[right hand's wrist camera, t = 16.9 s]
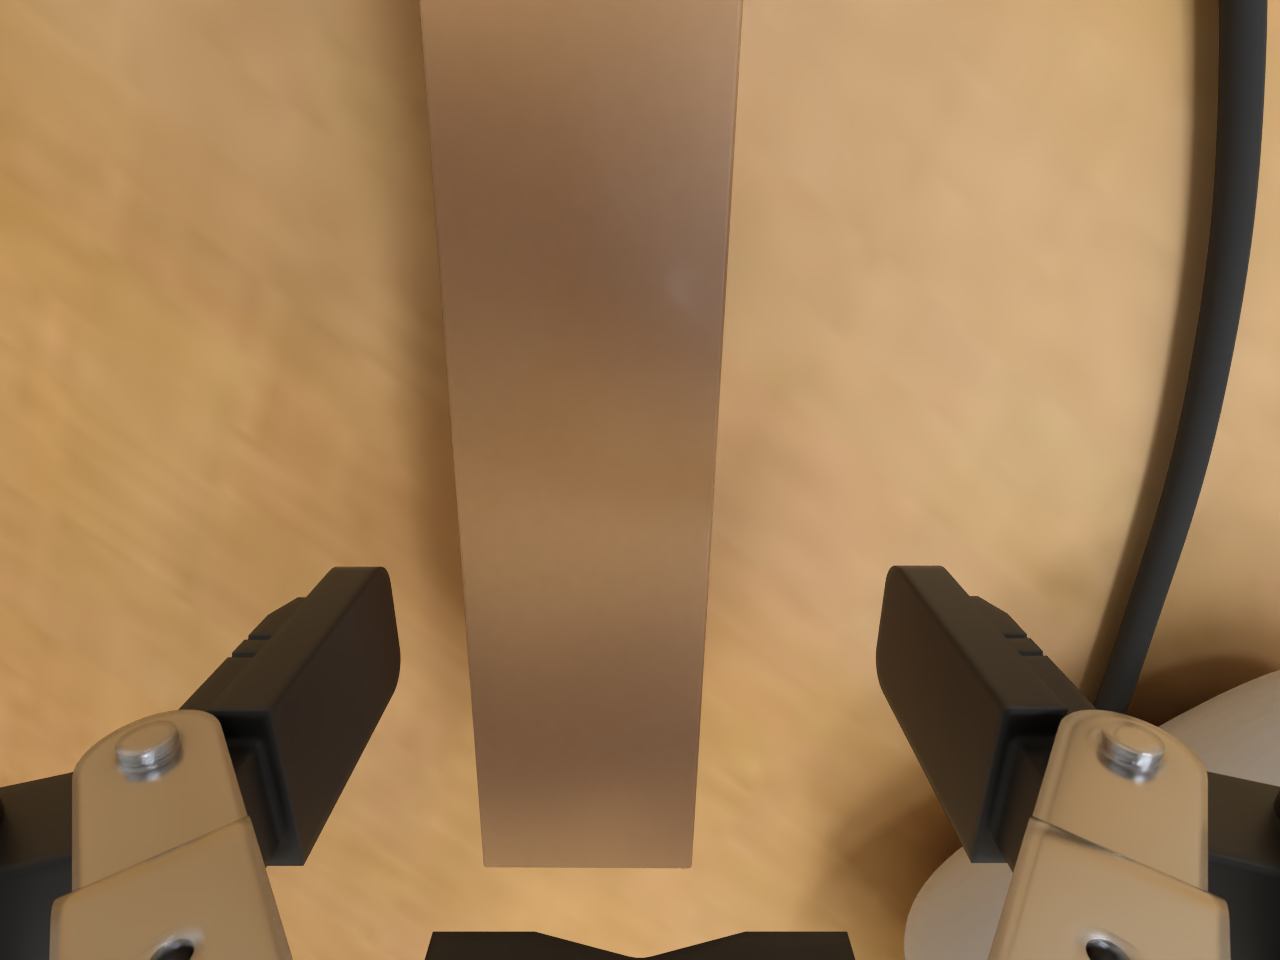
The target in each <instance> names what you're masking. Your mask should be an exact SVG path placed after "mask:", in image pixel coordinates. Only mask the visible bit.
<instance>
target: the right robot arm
mask: <svg viewBox="0 0 1280 960" xmlns="http://www.w3.org/2000/svg"><path fill="white" fill-rule="evenodd" d="M1266 39H1267V0H1219V81H1218V117H1217V142H1216V161H1215V178H1214V193H1213V205H1212V217H1211V228H1210V237H1209V246H1208V255H1207V263H1206V271H1205V279H1204V286H1203V293H1202V300H1201V307H1200V313H1199V319H1198V326H1197V332H1196V338H1195V343H1194V349H1193V355H1192V361H1191V366H1190V372H1189V377H1188V383H1187V388H1186V393H1185V398H1184V403H1183V408H1182V413H1181V418H1180V422H1179V427H1178V432H1177V436H1176V440H1175V445H1174V449H1173V453H1172V457H1171V461H1170V465H1169V469H1168V473H1167V477H1166V481H1165V484H1164V488H1163V492H1162V495H1161V499H1160V502H1159V506H1158V509H1157V513H1156V516H1155V520H1154V523H1153V526H1152V529H1151V533H1150V536H1149V539H1148V542H1147V546H1146V549H1145V552H1144V555H1143V558H1142V561H1141V564H1140V568H1139V571H1138V574H1137V577H1136V580H1135V583H1134V586H1133V589H1132V592H1131V595H1130V598H1129V602H1128V605H1127V608H1126V611H1125V614H1124V617H1123V620H1122V623H1121V626H1120V630H1119V633H1118V636H1117V639H1116V642H1115V645H1114V648H1113V652H1112V655H1111V658H1110V661H1109V664H1108V667H1107V670H1106V673H1105V676H1104V679H1103V682H1102V685H1101V687H1100V690H1099V693H1098V696H1097V699H1096V701H1095V704H1094V706H1093V705H1092V703H1091V702H1090V701H1089V700H1088V699H1087V698H1086V697H1085V696H1084V695H1083V694H1082V693H1081V692H1080V691H1079V690H1078V689H1077V687H1076V686H1075V685H1074V684H1073V683H1072V682H1071V681H1070V680H1069V679H1068V678H1067V677H1066V676H1065V675H1064V674H1063V673H1062V671H1061V670H1060V669H1059V668H1058V667H1057V666H1056V665H1055V664H1054V663H1053V662H1052V661H1051V660H1050V659H1049V658H1048V656H1043V651H1042V650H1041V649H1040V648H1039V647H1038V646H1037V645H1036V644H1035V643H1034V642H1033V640H1032V639H1031V638H1027V634H1026V633H1025V632H1024V631H1023V630H1022V629H1021V628H1020V627H1019V626H1018V624H1017V623H1016V622H1015V621H1014V620H1013V619H1012V618H1011V617H1010V616H1009V615H1008V614H1007V613H1005V612H1004V611H1002V610H1000V609H999V608H997V607H995V606H993V605H992V604H990V603H988V602H987V601H985V600H983V599H982V598H980V597H978V596H969V595H968V594H967V593H966V592H965V591H964V589H963V588H962V587H961V586H960V585H959V584H958V583H957V582H956V580H955V579H954V578H953V577H952V576H951V575H950V574H949V572H948V571H947V570H946V569H945V568H944V567H942V566H892V567H891V568H890V570H889V571H888V574H887V577H886V583H885V590H884V597H883V604H882V612H881V619H880V626H879V634H878V641H877V648H876V667H877V675H878V679H879V683H880V686H881V689H882V691H883V693H884V695H885V697H886V699H887V701H888V703H889V705H890V707H891V709H892V711H893V713H894V714H895V716H896V718H897V720H898V722H899V724H900V726H901V728H902V730H903V732H904V734H905V736H906V738H907V740H908V742H909V744H910V745H911V747H912V749H913V751H914V753H915V755H916V757H917V759H918V761H919V763H920V765H921V767H922V769H923V771H924V773H925V775H926V776H927V778H928V780H929V782H930V784H931V786H932V788H933V790H934V792H935V794H936V796H937V798H938V800H939V802H940V804H941V806H942V807H943V809H944V811H945V813H946V815H947V817H948V819H949V821H950V823H951V825H952V827H953V829H954V831H955V833H956V835H957V837H958V838H959V840H960V842H961V844H962V846H963V848H964V850H965V852H966V854H967V856H968V858H969V860H970V862H971V863H1007V864H1008V865H1009V867H1010V869H1011V871H1012V872H1013V875H1012V878H1011V882H1010V885H1009V888H1008V892H1007V895H1006V899H1005V902H1004V905H1003V909H1002V912H1001V915H1000V919H999V922H998V925H997V929H996V932H995V935H994V939H993V942H992V945H991V949H990V952H989V955H988V959H987V960H1280V787H1279V786H1275V785H1270V784H1265V783H1260V782H1255V781H1251V780H1246V779H1241V778H1236V777H1232V776H1227V775H1222V774H1217V773H1213V772H1208V771H1206V769H1205V767H1204V765H1203V763H1202V762H1201V760H1200V759H1199V757H1198V756H1197V755H1196V754H1195V753H1194V752H1193V751H1192V750H1191V749H1190V748H1189V747H1188V746H1186V745H1185V744H1184V743H1183V742H1181V741H1180V740H1179V739H1177V738H1176V737H1174V736H1173V735H1171V734H1170V733H1168V732H1166V731H1164V730H1162V729H1161V728H1159V727H1157V726H1155V725H1152V724H1150V723H1148V722H1146V721H1143V720H1140V719H1138V718H1135V717H1132V716H1128V715H1125V713H1126V710H1127V707H1128V705H1129V702H1130V699H1131V697H1132V694H1133V691H1134V689H1135V686H1136V683H1137V680H1138V677H1139V675H1140V672H1141V669H1142V666H1143V663H1144V660H1145V657H1146V654H1147V651H1148V648H1149V645H1150V642H1151V639H1152V637H1153V634H1154V631H1155V628H1156V625H1157V622H1158V619H1159V616H1160V613H1161V610H1162V607H1163V604H1164V601H1165V598H1166V595H1167V593H1168V590H1169V587H1170V584H1171V581H1172V578H1173V575H1174V572H1175V569H1176V566H1177V563H1178V560H1179V557H1180V554H1181V551H1182V548H1183V545H1184V542H1185V539H1186V536H1187V533H1188V530H1189V527H1190V524H1191V521H1192V517H1193V514H1194V511H1195V508H1196V504H1197V501H1198V498H1199V494H1200V491H1201V487H1202V484H1203V480H1204V477H1205V473H1206V470H1207V466H1208V462H1209V458H1210V454H1211V451H1212V447H1213V443H1214V439H1215V435H1216V430H1217V426H1218V422H1219V418H1220V413H1221V409H1222V404H1223V399H1224V395H1225V390H1226V386H1227V381H1228V376H1229V371H1230V366H1231V361H1232V356H1233V351H1234V345H1235V340H1236V335H1237V329H1238V324H1239V318H1240V313H1241V307H1242V301H1243V295H1244V289H1245V283H1246V277H1247V270H1248V263H1249V256H1250V249H1251V242H1252V234H1253V226H1254V218H1255V208H1256V199H1257V189H1258V178H1259V167H1260V154H1261V140H1262V124H1263V108H1264V87H1265V65H1266ZM399 672H400V647H399V639H398V632H397V625H396V618H395V611H394V603H393V596H392V589H391V582H390V578H389V575H388V572H387V570H386V569H385V568H384V567H334V568H332V569H331V570H330V571H329V572H328V573H327V574H326V576H325V577H324V578H323V579H322V580H321V581H320V582H319V583H318V585H317V586H316V587H315V588H314V589H313V590H312V591H311V592H310V594H309V595H308V596H307V597H298V598H296V599H294V600H293V601H291V602H289V603H288V604H286V605H284V606H283V607H281V608H279V609H277V610H276V611H274V612H272V613H271V614H269V615H268V616H267V617H266V618H265V619H264V620H263V621H262V622H261V623H260V624H259V625H258V626H257V627H256V628H255V629H254V630H253V631H252V632H251V634H250V635H249V638H248V640H244V641H243V642H242V643H241V644H240V645H239V646H238V647H237V648H236V649H235V650H234V652H233V653H232V657H228V658H227V659H226V660H225V661H224V662H223V663H222V664H221V665H220V666H219V667H218V668H217V670H216V671H215V672H214V673H213V674H212V675H211V676H210V677H209V678H208V679H207V680H206V681H205V682H204V683H203V684H202V685H201V686H200V687H199V689H198V690H197V691H196V692H195V693H194V694H193V695H192V696H191V697H190V698H189V699H188V700H187V701H186V702H185V703H184V704H183V705H182V707H181V708H180V709H179V710H175V711H168V712H163V713H159V714H155V715H152V716H148V717H145V718H142V719H140V720H137V721H134V722H132V723H130V724H128V725H125V726H123V727H121V728H119V729H118V730H116V731H114V732H112V733H110V734H109V735H107V736H106V737H104V738H103V739H101V740H100V741H99V742H97V743H96V744H95V745H94V746H92V747H91V748H90V749H89V750H88V751H87V752H86V753H85V754H84V755H83V756H82V757H81V759H80V760H79V762H78V763H77V765H76V767H75V769H74V771H73V772H71V773H67V774H63V775H58V776H53V777H49V778H44V779H39V780H34V781H30V782H25V783H20V784H15V785H11V786H6V787H1V788H0V960H293V959H292V955H291V952H290V949H289V945H288V942H287V939H286V935H285V932H284V929H283V925H282V922H281V919H280V915H279V912H278V909H277V905H276V902H275V899H274V895H273V892H272V888H271V885H270V882H269V878H268V875H267V872H266V867H267V866H303V865H304V864H305V862H306V860H307V858H308V856H309V854H310V852H311V850H312V848H313V846H314V844H315V842H316V841H317V839H318V837H319V835H320V833H321V831H322V829H323V827H324V825H325V823H326V821H327V819H328V818H329V816H330V814H331V812H332V810H333V808H334V806H335V804H336V802H337V800H338V798H339V797H340V795H341V793H342V791H343V789H344V787H345V785H346V783H347V781H348V779H349V777H350V775H351V774H352V772H353V770H354V768H355V766H356V764H357V762H358V760H359V758H360V756H361V754H362V753H363V751H364V749H365V747H366V745H367V743H368V741H369V739H370V737H371V735H372V733H373V731H374V730H375V728H376V726H377V724H378V722H379V720H380V718H381V716H382V714H383V712H384V710H385V708H386V707H387V705H388V703H389V701H390V699H391V697H392V695H393V693H394V691H395V689H396V686H397V682H398V678H399ZM425 960H855V957H854V954H853V951H852V947H851V944H850V940H849V937H848V933H847V932H742V933H739V934H735V935H731V936H727V937H723V938H720V939H716V940H712V941H708V942H705V943H701V944H697V945H693V946H690V947H686V948H682V949H678V950H674V951H671V952H667V953H663V954H659V955H656V956H652V957H646V958H634V957H628V956H624V955H621V954H617V953H613V952H609V951H606V950H602V949H598V948H594V947H590V946H587V945H583V944H579V943H575V942H572V941H568V940H564V939H560V938H557V937H553V936H549V935H545V934H541V933H538V932H433V933H432V937H431V940H430V944H429V947H428V951H427V954H426V957H425Z"/></svg>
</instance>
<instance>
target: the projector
mask: <svg viewBox="0 0 1280 960" xmlns="http://www.w3.org/2000/svg"><path fill="white" fill-rule="evenodd" d="M1159 728H1161V729H1162V730H1164V731H1166V732H1168V733H1170V734H1171V735H1173V736H1174V737H1176V738H1177V739H1179V740H1180V741H1181V742H1183V743H1184V744H1185V745H1186V746H1188V747H1189V748H1190V749H1191V750H1192V751H1193V752H1194V753H1195V754H1196V755H1197V756H1198V757H1199V759H1200V760H1201V762H1202V763H1203V765H1204V767H1205V769H1206V771H1208V772H1213V773H1217V774H1222V775H1227V776H1232V777H1236V778H1241V779H1246V780H1251V781H1255V782H1260V783H1265V784H1270V785H1275V786H1279V787H1280V670H1278V671H1275V672H1271V673H1269V674H1266V675H1263V676H1261V677H1258V678H1256V679H1253V680H1251V681H1248V682H1246V683H1244V684H1242V685H1239V686H1237V687H1235V688H1233V689H1230V690H1228V691H1226V692H1224V693H1221V694H1219V695H1217V696H1215V697H1213V698H1211V699H1209V700H1207V701H1206V702H1204V703H1202V704H1200V705H1198V706H1196V707H1194V708H1192V709H1190V710H1188V711H1186V712H1184V713H1182V714H1180V715H1178V716H1176V717H1175V718H1173V719H1171V720H1169V721H1167V722H1166V723H1164V724H1162V725H1160V726H1159ZM1012 875H1013V872H1012V871H1011V869H1010V867H1009V865H1008V864H1007V863H971V862H970V860H969V858H968V856H967V854H966V852H965V850H964V848H963V846H962V847H961V848H960V849H958V850H957V851H956V852H955V853H954V854H953V855H951V856H950V857H949V858H948V859H947V860H946V861H945V862H944V863H943V864H942V865H941V866H940V867H939V868H938V869H937V870H936V871H935V872H934V873H933V874H932V875H931V876H930V878H929V879H928V880H927V881H926V882H925V884H924V885H923V887H922V888H921V890H920V891H919V893H918V894H917V896H916V898H915V900H914V902H913V904H912V907H911V909H910V912H909V915H908V918H907V923H906V927H905V936H904V954H905V960H987V959H988V955H989V952H990V949H991V945H992V942H993V939H994V935H995V932H996V929H997V925H998V922H999V919H1000V915H1001V912H1002V909H1003V905H1004V902H1005V899H1006V895H1007V892H1008V888H1009V885H1010V882H1011V878H1012Z"/></svg>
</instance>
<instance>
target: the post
mask: <svg viewBox="0 0 1280 960" xmlns="http://www.w3.org/2000/svg"><path fill="white" fill-rule="evenodd" d="M419 5H420V18H421V32H422V45H423V58H424V72H425V85H426V99H427V112H428V125H429V139H430V152H431V165H432V179H433V192H434V206H435V219H436V232H437V246H438V259H439V272H440V286H441V299H442V313H443V326H444V339H445V353H446V366H447V379H448V393H449V406H450V420H451V433H452V446H453V460H454V473H455V486H456V500H457V513H458V526H459V540H460V553H461V567H462V580H463V593H464V607H465V620H466V633H467V647H468V660H469V674H470V687H471V700H472V714H473V727H474V740H475V754H476V767H477V781H478V794H479V807H480V821H481V834H482V847H483V861H484V866H485V867H552V868H691V865H692V852H693V836H694V819H695V802H696V785H697V768H698V751H699V734H700V717H701V701H702V684H703V667H704V650H705V633H706V616H707V599H708V582H709V566H710V549H711V532H712V515H713V498H714V481H715V464H716V447H717V431H718V414H719V397H720V380H721V363H722V346H723V329H724V312H725V296H726V279H727V262H728V245H729V228H730V211H731V194H732V177H733V161H734V144H735V127H736V110H737V93H738V76H739V59H740V42H741V26H742V9H743V0H419Z"/></svg>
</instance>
